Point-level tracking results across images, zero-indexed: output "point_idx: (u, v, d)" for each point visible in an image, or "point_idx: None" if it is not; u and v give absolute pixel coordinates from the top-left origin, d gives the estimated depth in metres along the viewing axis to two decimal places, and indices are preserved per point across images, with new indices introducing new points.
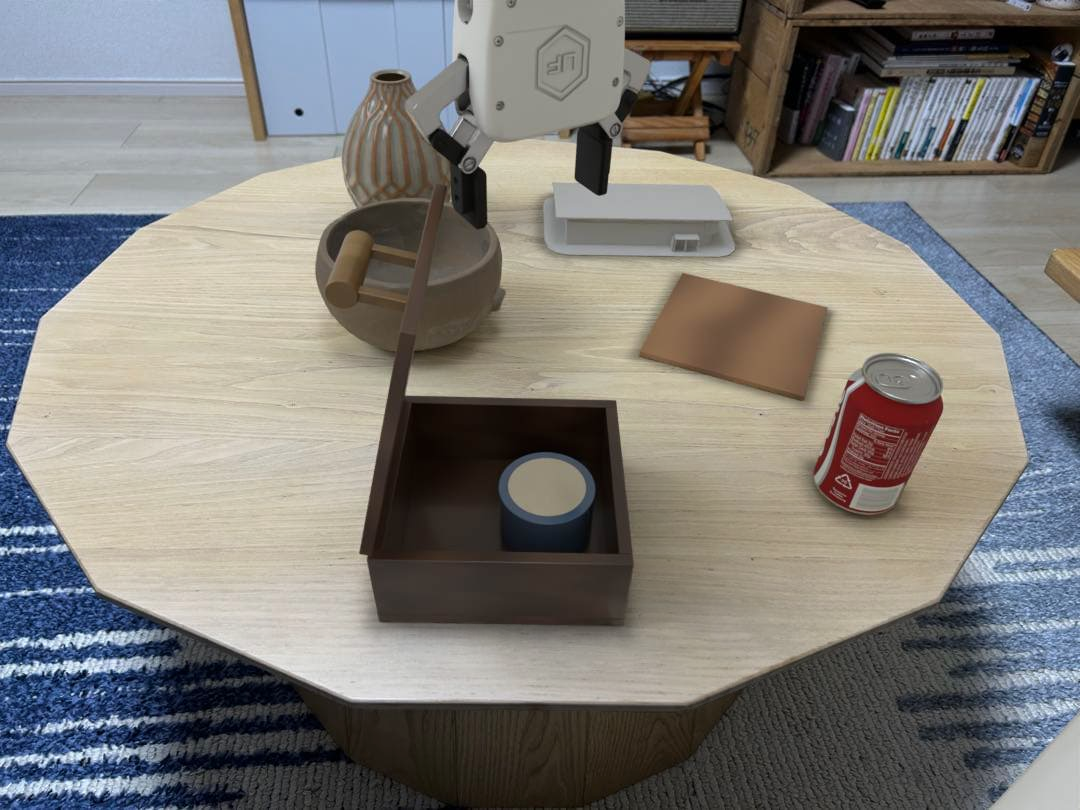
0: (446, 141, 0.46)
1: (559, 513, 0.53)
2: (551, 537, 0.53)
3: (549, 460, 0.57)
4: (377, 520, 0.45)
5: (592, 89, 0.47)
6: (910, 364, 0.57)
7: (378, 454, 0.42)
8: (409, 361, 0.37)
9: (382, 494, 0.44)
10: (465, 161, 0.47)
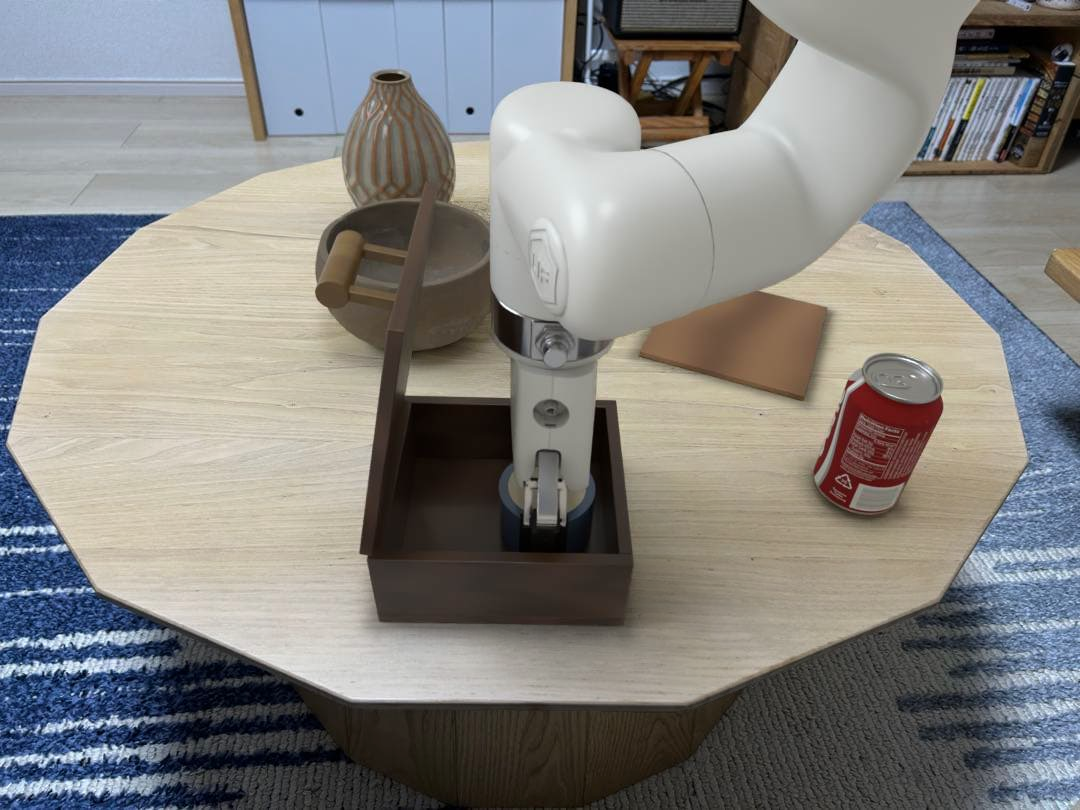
0: (561, 520, 0.47)
1: None
2: None
3: None
4: (375, 520, 0.45)
5: None
6: (910, 364, 0.57)
7: (373, 453, 0.42)
8: (399, 359, 0.37)
9: (379, 493, 0.44)
10: None
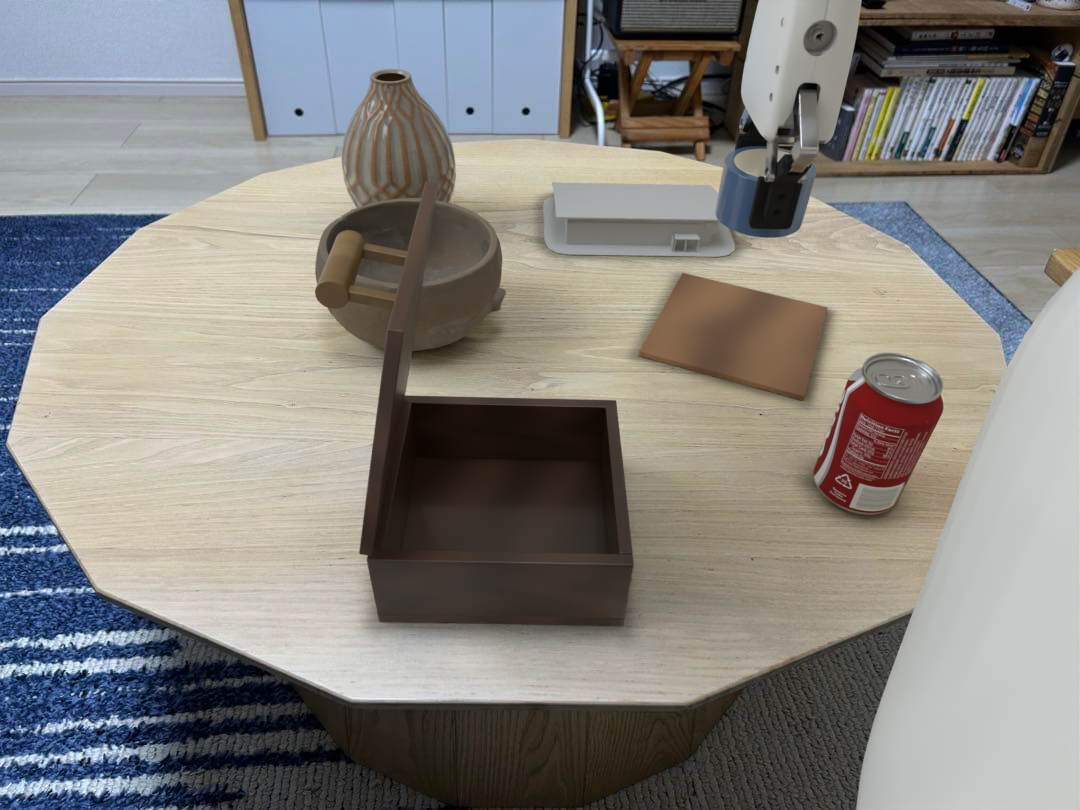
0: None
1: None
2: None
3: (764, 150, 0.62)
4: (375, 520, 0.45)
5: None
6: (910, 364, 0.57)
7: (373, 453, 0.42)
8: (399, 359, 0.37)
9: (379, 493, 0.44)
10: (804, 174, 0.55)
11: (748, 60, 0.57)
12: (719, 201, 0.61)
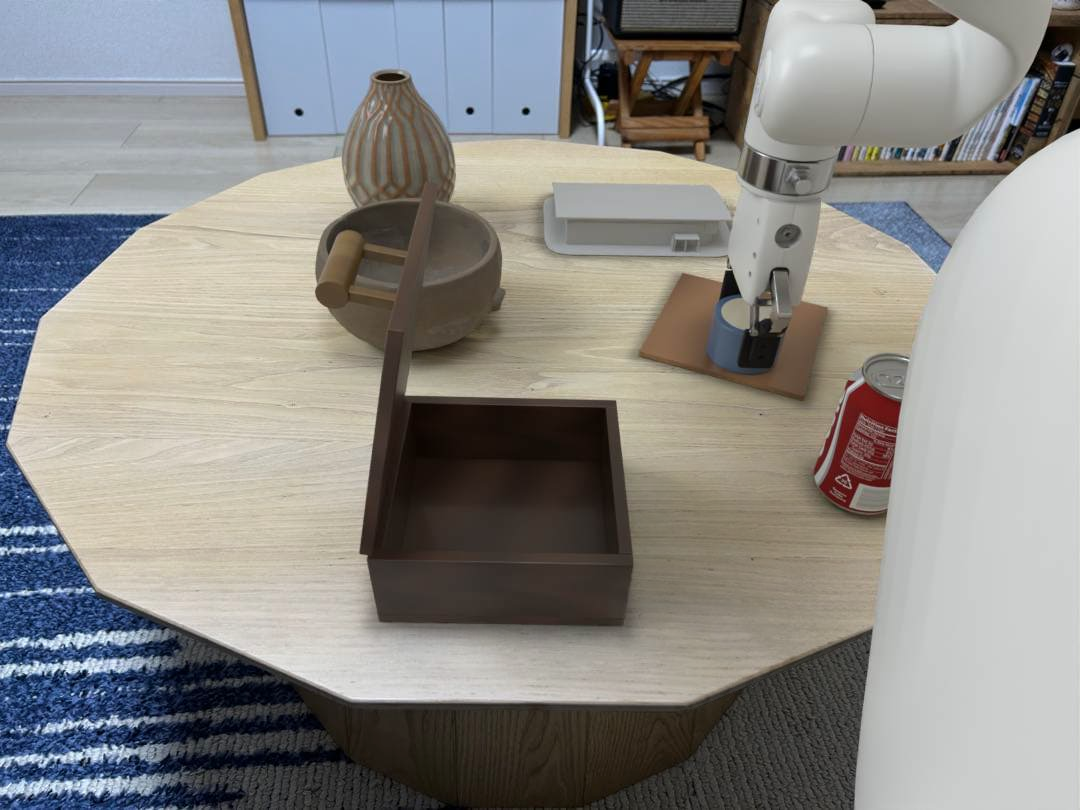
0: None
1: None
2: None
3: None
4: (375, 520, 0.45)
5: None
6: None
7: (373, 453, 0.42)
8: (399, 359, 0.37)
9: (379, 493, 0.44)
10: None
11: (733, 232, 0.70)
12: (709, 341, 0.74)
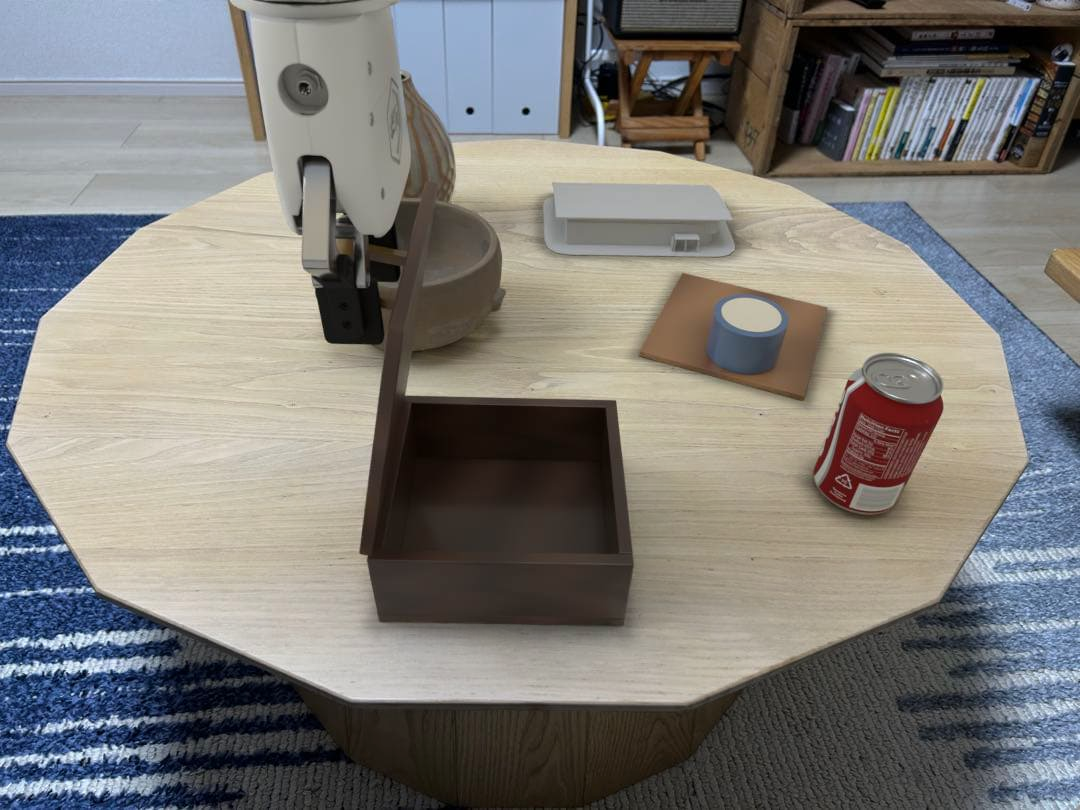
0: (352, 263, 0.37)
1: (765, 330, 0.71)
2: (759, 348, 0.71)
3: (747, 299, 0.74)
4: (375, 520, 0.45)
5: (404, 139, 0.41)
6: (910, 364, 0.57)
7: (373, 453, 0.42)
8: (399, 359, 0.37)
9: (379, 493, 0.44)
10: None
11: None
12: (709, 341, 0.74)
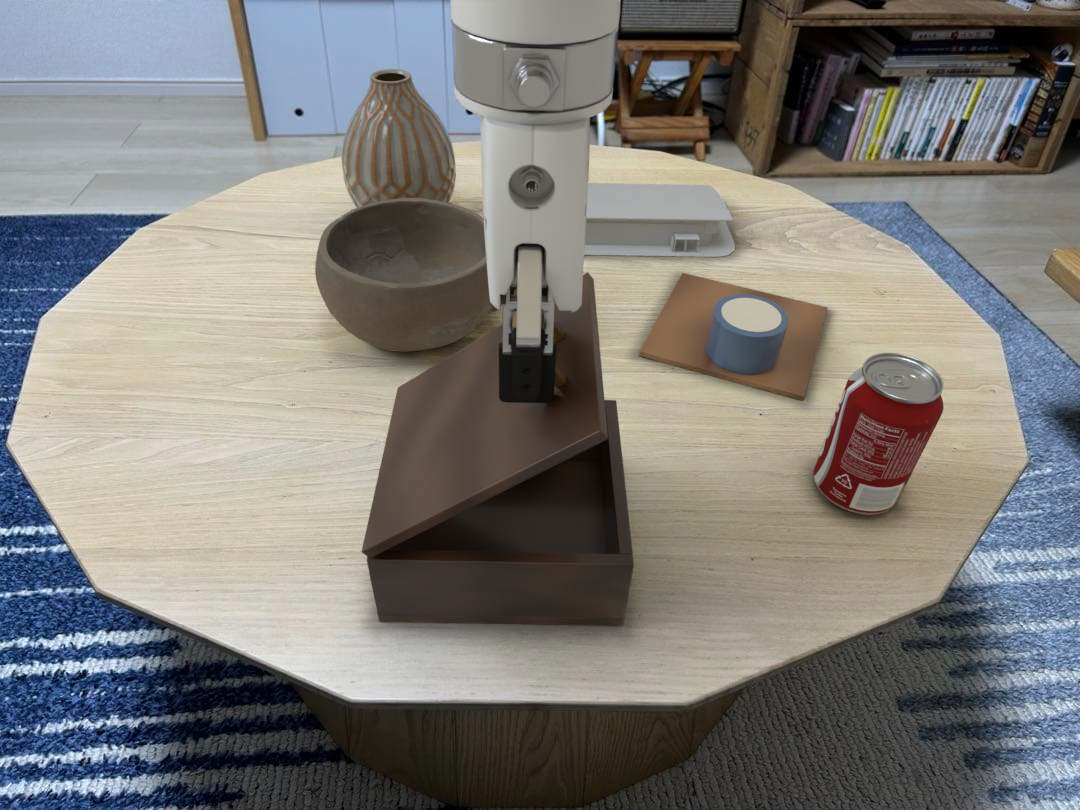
0: (547, 336, 0.40)
1: (765, 330, 0.71)
2: (759, 348, 0.71)
3: (747, 299, 0.74)
4: (411, 536, 0.46)
5: None
6: (910, 364, 0.57)
7: (476, 495, 0.44)
8: (581, 451, 0.42)
9: (440, 521, 0.45)
10: None
11: None
12: (709, 341, 0.74)
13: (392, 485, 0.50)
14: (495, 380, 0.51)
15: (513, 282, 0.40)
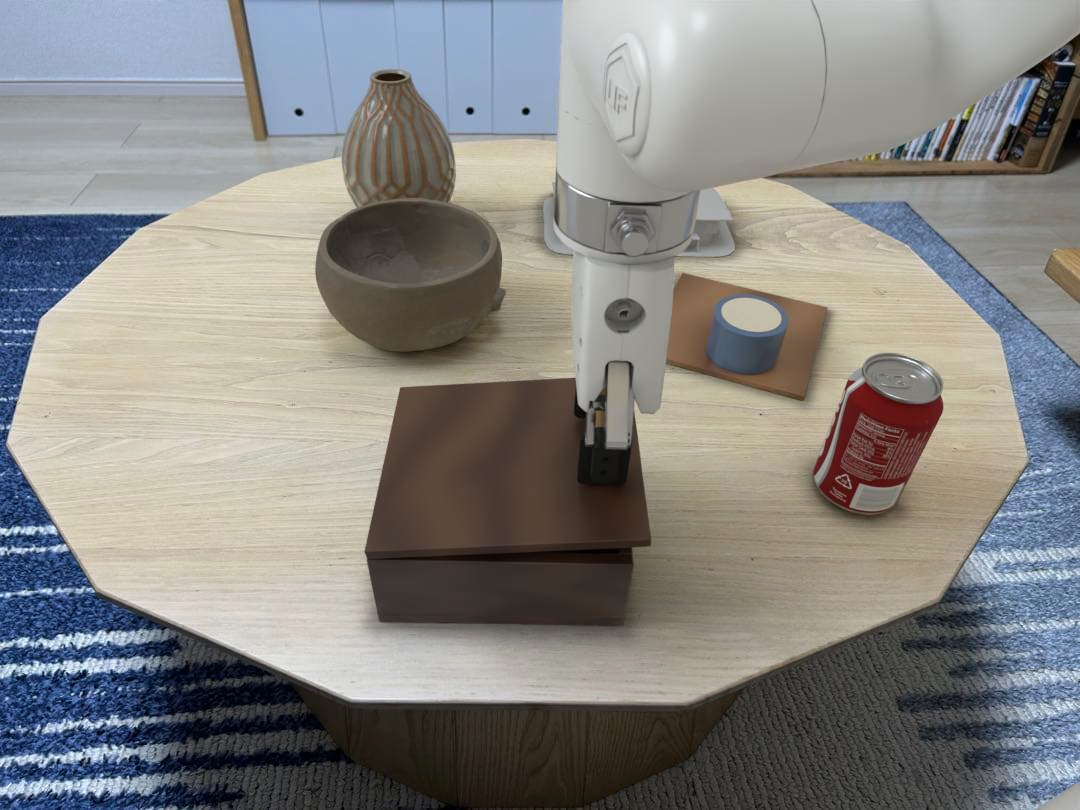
0: None
1: (765, 330, 0.71)
2: (759, 348, 0.71)
3: (747, 299, 0.74)
4: (423, 556, 0.48)
5: None
6: (910, 364, 0.57)
7: (511, 545, 0.47)
8: (623, 547, 0.47)
9: (460, 554, 0.48)
10: None
11: None
12: (709, 341, 0.74)
13: (402, 493, 0.51)
14: (528, 436, 0.54)
15: None
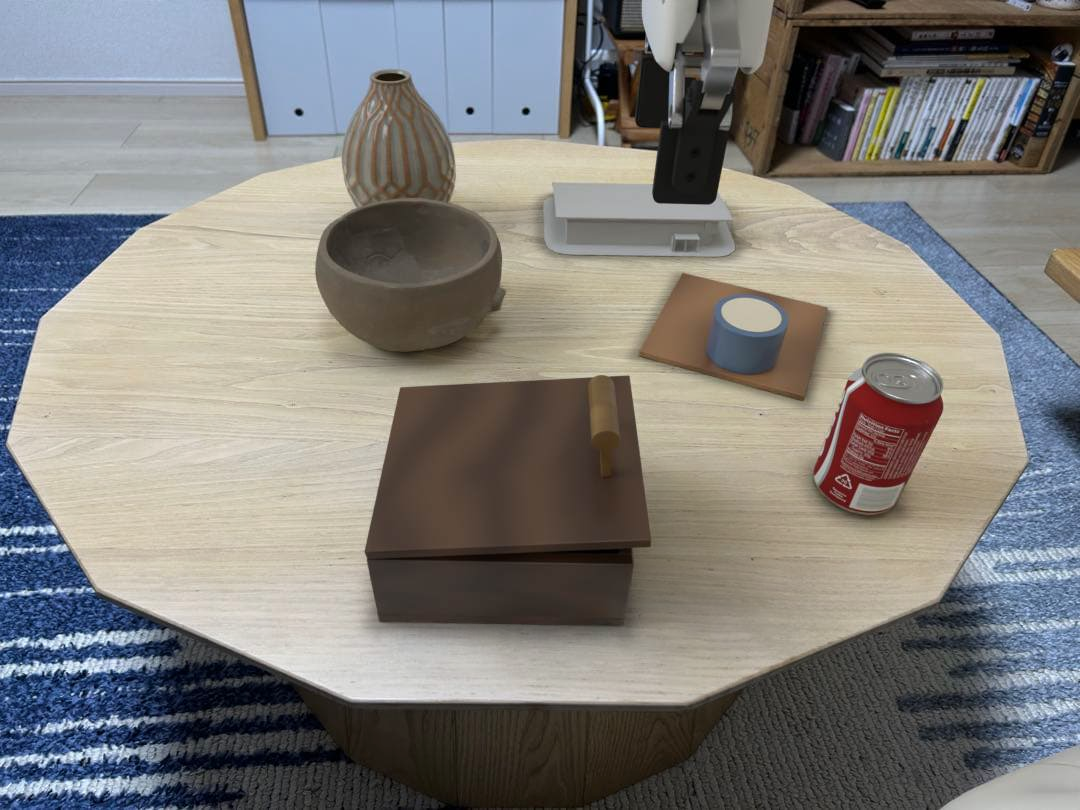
0: (733, 92, 0.33)
1: (765, 330, 0.71)
2: (759, 348, 0.71)
3: (747, 299, 0.74)
4: (423, 556, 0.48)
5: None
6: (910, 364, 0.57)
7: (511, 546, 0.47)
8: (623, 548, 0.47)
9: (460, 554, 0.48)
10: None
11: None
12: (709, 341, 0.74)
13: (402, 493, 0.51)
14: (528, 436, 0.54)
15: None
